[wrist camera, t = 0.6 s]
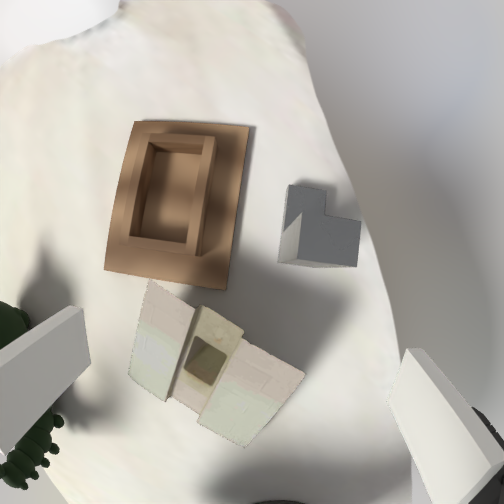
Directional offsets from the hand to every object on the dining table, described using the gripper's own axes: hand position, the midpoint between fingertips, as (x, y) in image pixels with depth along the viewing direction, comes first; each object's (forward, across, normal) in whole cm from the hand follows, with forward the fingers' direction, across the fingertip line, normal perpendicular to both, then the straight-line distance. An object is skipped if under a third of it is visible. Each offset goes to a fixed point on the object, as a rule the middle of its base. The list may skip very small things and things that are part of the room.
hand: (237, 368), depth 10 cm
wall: (+18, +4, +13) cm, 23 cm away
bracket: (+22, -4, -3) cm, 23 cm away
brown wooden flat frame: (+22, +10, -5) cm, 25 cm away
